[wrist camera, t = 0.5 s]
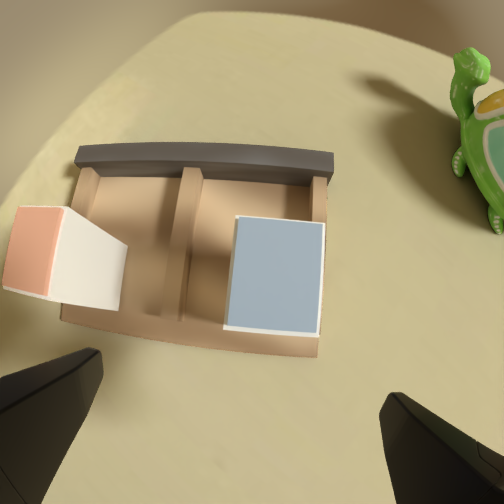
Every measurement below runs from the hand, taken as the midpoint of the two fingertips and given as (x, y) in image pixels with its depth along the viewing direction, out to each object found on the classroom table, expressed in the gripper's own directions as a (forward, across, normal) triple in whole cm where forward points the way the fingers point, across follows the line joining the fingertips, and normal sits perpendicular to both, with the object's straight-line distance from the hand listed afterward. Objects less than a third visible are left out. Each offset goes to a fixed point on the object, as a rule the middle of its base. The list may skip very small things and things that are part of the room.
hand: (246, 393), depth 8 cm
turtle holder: (+20, -23, -12) cm, 33 cm away
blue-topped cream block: (+14, -2, +2) cm, 14 cm away
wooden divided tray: (+15, +5, +1) cm, 16 cm away
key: (+14, +12, +3) cm, 19 cm away
